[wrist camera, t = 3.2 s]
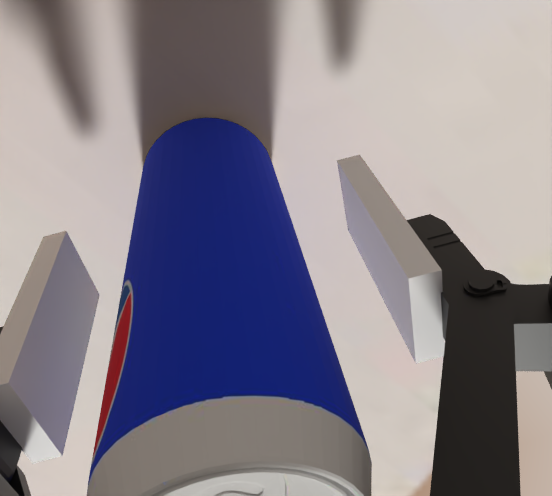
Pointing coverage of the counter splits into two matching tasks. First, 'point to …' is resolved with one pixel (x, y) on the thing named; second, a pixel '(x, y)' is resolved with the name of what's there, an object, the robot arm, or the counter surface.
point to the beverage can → (221, 339)
